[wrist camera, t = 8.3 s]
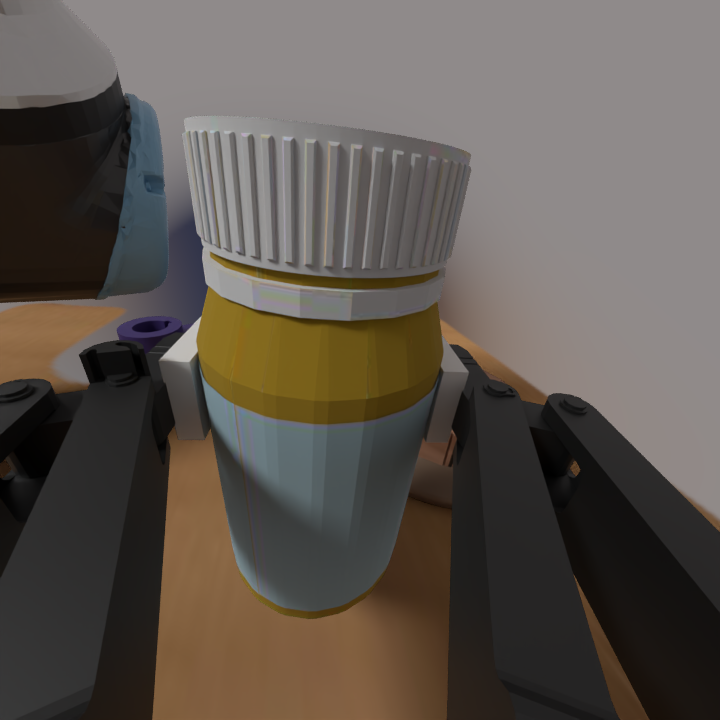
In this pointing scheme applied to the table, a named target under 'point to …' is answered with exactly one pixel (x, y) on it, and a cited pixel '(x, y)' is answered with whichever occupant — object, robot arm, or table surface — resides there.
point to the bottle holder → (435, 471)
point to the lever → (150, 330)
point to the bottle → (319, 340)
